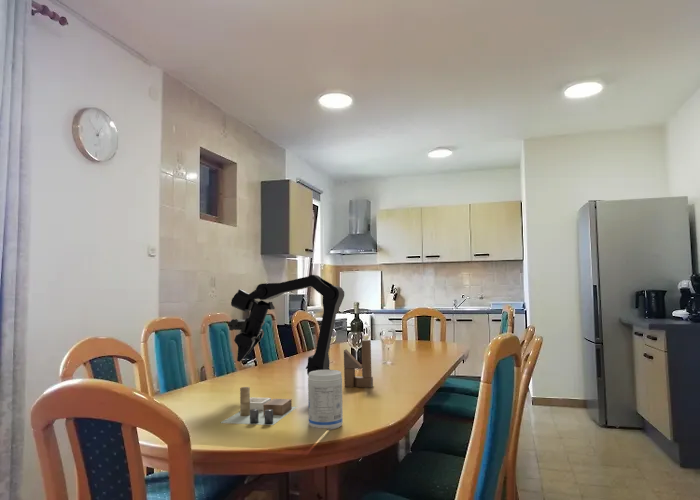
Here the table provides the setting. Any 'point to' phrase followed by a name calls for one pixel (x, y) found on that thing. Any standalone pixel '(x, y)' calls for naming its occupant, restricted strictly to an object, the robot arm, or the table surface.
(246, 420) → the mat
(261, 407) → the tray
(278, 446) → the table surface
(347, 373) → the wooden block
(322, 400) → the supplement tub
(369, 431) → the table surface
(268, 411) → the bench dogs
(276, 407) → the cardboard brown brick
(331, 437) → the table surface
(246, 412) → the dowel
